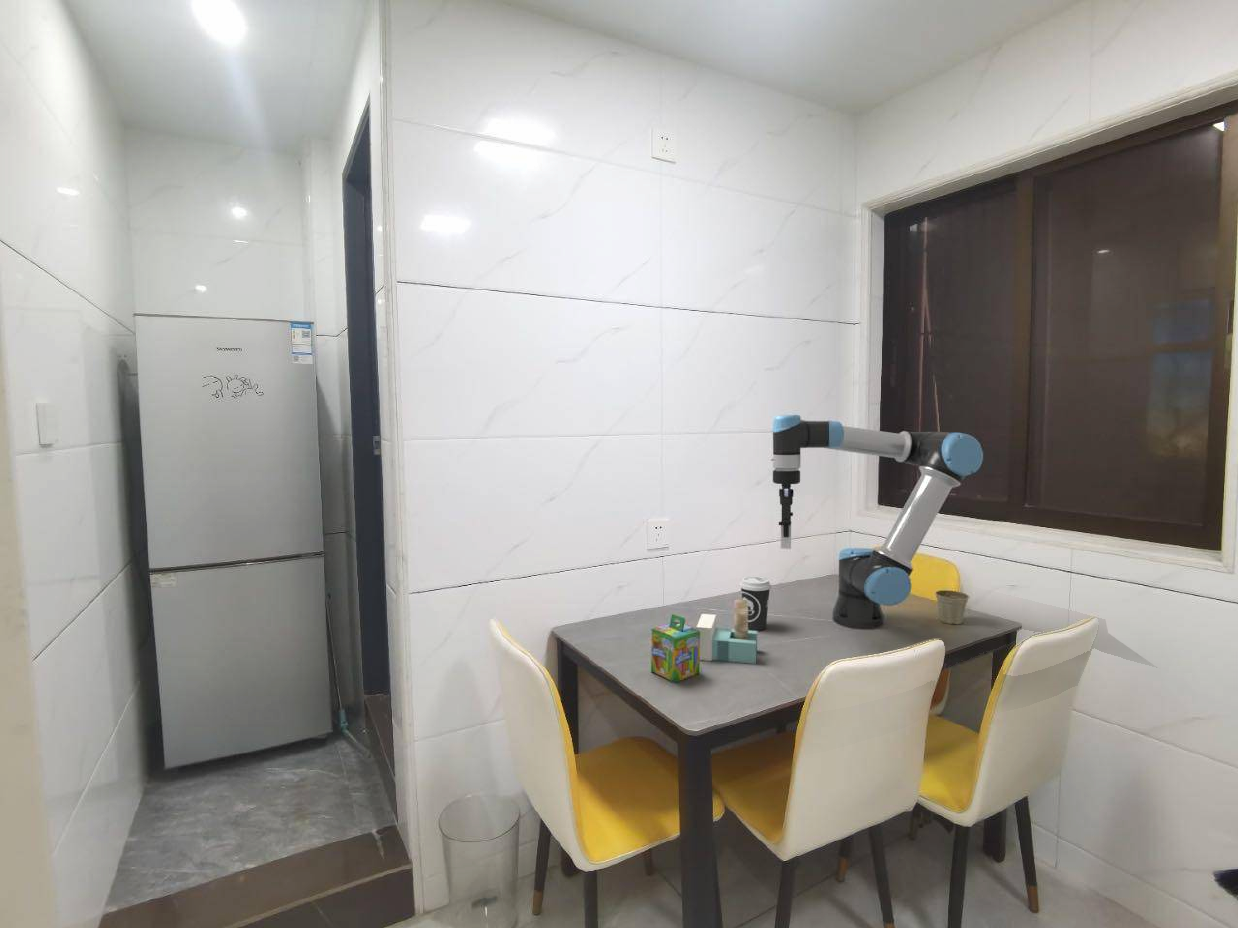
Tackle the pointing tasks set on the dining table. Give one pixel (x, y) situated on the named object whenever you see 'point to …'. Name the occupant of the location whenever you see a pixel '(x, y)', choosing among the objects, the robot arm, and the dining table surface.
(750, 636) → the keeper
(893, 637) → the dining table surface
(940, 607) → the flower pot
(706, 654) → the wall
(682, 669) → the chalk box
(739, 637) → the dowel
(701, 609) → the dining table surface
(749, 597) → the coffee cup
